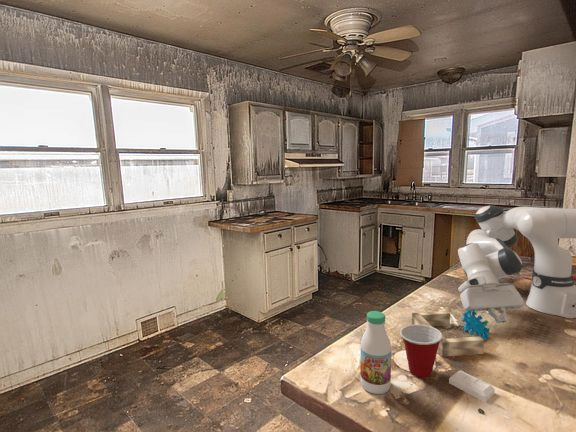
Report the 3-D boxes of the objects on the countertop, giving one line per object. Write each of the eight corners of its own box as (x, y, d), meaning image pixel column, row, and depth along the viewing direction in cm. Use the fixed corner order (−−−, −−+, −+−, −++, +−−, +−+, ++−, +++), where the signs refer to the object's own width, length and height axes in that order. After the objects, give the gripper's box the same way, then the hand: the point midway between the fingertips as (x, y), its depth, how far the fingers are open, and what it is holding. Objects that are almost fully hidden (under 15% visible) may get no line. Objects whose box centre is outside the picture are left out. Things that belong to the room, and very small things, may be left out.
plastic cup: (402, 356, 98) (402, 319, 96) (441, 366, 93) (443, 326, 91) (395, 377, 89) (396, 337, 87) (439, 389, 84) (441, 346, 82)
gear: (475, 340, 103) (459, 310, 108) (462, 346, 107) (447, 317, 113) (499, 337, 107) (482, 308, 113) (485, 343, 111) (469, 314, 117)
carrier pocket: (446, 322, 118) (447, 310, 117) (483, 353, 98) (484, 339, 98) (411, 324, 117) (412, 313, 117) (441, 356, 97) (442, 342, 97)
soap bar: (458, 377, 89) (458, 368, 88) (494, 395, 82) (495, 385, 81) (448, 384, 86) (449, 375, 86) (485, 403, 79) (485, 394, 78)
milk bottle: (356, 377, 89) (356, 308, 86) (383, 374, 90) (384, 306, 87) (365, 396, 82) (366, 322, 79) (395, 393, 82) (396, 320, 79)
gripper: (506, 285, 120) (525, 323, 112) (453, 289, 119) (468, 327, 110) (517, 278, 115) (537, 317, 107) (461, 281, 113) (478, 321, 105)
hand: (502, 322), depth 109 cm, fingers closed
